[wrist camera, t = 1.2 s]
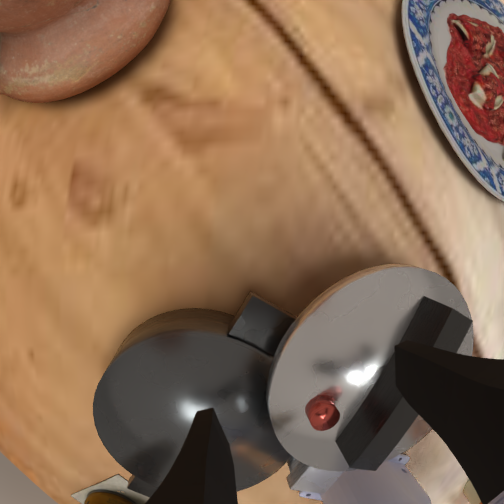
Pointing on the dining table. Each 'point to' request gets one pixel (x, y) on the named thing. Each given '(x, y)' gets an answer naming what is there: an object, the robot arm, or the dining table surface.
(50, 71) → the brown clay hourglass vessel
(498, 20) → the ceramic plate
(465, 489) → the reusable coffee cup
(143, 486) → the cooker body
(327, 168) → the dining table surface
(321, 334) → the cooker lid
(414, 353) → the robot arm
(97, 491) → the condiment
